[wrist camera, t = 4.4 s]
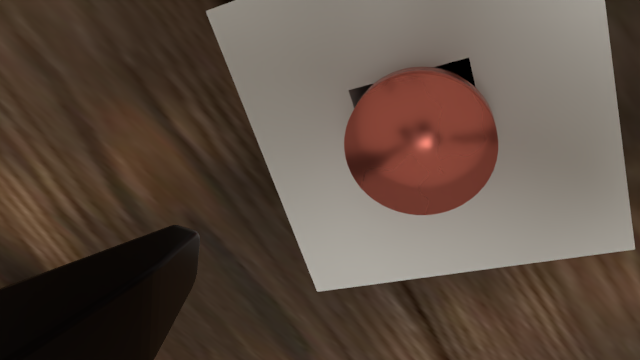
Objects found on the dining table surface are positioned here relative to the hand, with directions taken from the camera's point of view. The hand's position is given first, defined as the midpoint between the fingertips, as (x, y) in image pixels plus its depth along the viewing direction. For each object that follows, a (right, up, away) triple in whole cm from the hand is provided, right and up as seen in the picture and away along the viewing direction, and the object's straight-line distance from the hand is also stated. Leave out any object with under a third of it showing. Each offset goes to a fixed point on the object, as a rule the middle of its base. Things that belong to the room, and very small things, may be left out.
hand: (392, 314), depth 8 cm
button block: (+3, +6, +11) cm, 13 cm away
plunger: (+3, +5, +10) cm, 12 cm away
